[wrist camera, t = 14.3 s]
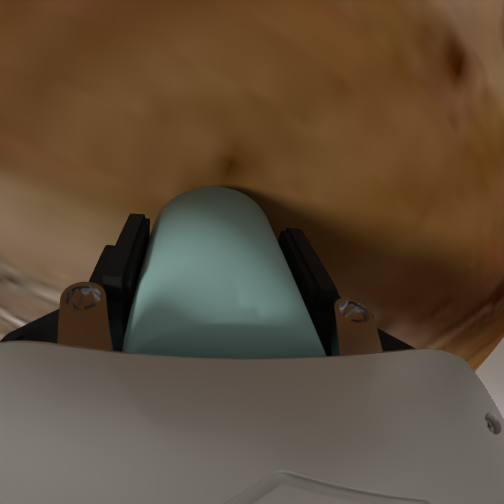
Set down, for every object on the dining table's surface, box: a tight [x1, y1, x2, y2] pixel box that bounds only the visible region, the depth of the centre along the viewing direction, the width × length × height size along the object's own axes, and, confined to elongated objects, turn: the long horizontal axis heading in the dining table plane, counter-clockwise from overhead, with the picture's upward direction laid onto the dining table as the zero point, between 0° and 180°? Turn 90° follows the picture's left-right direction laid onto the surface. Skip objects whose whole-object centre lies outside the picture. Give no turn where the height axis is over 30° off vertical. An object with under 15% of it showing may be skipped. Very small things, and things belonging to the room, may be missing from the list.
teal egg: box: [122, 186, 326, 358], centre depth 9 cm, size 5×5×7 cm
